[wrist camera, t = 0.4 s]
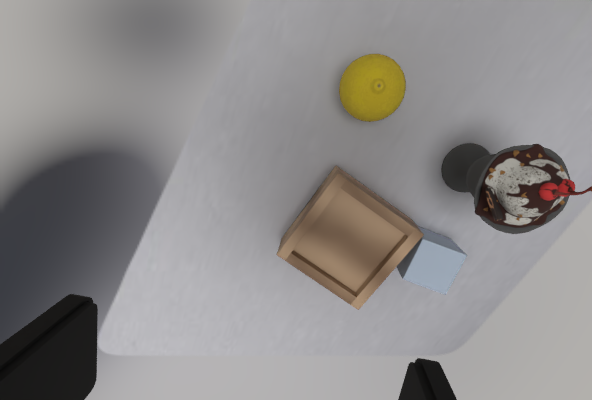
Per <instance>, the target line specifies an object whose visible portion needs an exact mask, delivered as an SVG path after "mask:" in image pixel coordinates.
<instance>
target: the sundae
mask: <svg viewBox="0 0 592 400" xmlns="http://www.w3.org/2000/svg"><path fill="white" fill-rule="evenodd" d="M442 176H443V179H444V181H445V183H446V184H447V185H448V186H449V187H450V188H452V189H453V190H456V191H459V192H470V193H471V194H472V196H473V197H474V204H475V213H476V214H477V215H479V216H480V217H481V218H482V220H483V221H485V222H486V223H487V224H488V225H490V226H492V227H493V228H495V229H496V230H499V231H502V232H506V233H511V234H518V233H525V232H529V231H531V230H534V229H536V228H538V227H540V226H542V225H544V224H546V223H548V222H549V221H551V220H552V219H553V218H555V217H556V216H557V215H558V214H559V213H560V212H561V211H562V210H563V208H564V207H565V205H566V203H567V201H568V198H569V196H570V195H579V194H584V193H586V192H588V191H592V186H591V187H590V188H588V189H587V190H585V191H583V192H575V191H574V190H575V184H574V182H573V181H571V180H570V177H569V174H568V171H567V168H566V166H565V164H564V162H563V160H562V159H561V158H560V157H559V156H558V155H557V154H556V153H555V152H553V151H552V150H550V149H547V148H544V147H542V146H541V145H539V144H533V145H521V146H513V147H510V148H507V149H504V150H502V151H500V152H498V153H497V154H492V155H490V154H489V152H488V151H487V150H486V149H485V148H483V147H482V146H480V145H477V144H472V143H471V144H463V145H460V146H458V147H456V148H454V149H453V150H451V151H450V152H449V153H448V155H447V156H446V157H445V159H444V162H443V165H442Z"/></svg>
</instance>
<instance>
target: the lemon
mask: <svg viewBox="0 0 592 400" xmlns="http://www.w3.org/2000/svg"><path fill="white" fill-rule="evenodd" d="M405 88H406V81H405V77H404V73H403V71H402V70H401V68H400V66H399V65H398V64H397V63H396V62H395V61H394V60H393V59H391V58H389V57H387V56H384V55H380V54H369V55H365V56H362V57H360V58H358V59H356V60H355V61H353V62H352V63H351V64H350V65H349V66H348V67H347V69H346V70H345V72H344V73H343V75H342V78H341V81H340V88H339V93H340V99H341V102H342V104H343V106H344V108H345V109H346V110H347V112H348V113H349V114H351V115H352V116H353V117H355V118H357V119H359V120H362V121H369V122H371V121H378V120H381V119H384V118H386V117H388V116H389V115H390V114H392V113H393V112H394V111H395V110H396V109H397V108H398V107H399V105H400V103H401V102H402V100H403V98H404V94H405Z"/></svg>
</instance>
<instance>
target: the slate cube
mask: <svg viewBox="0 0 592 400" xmlns="http://www.w3.org/2000/svg"><path fill="white" fill-rule="evenodd" d="M417 227H418V226H417ZM418 228H419V229H420V230H421V231H422V233H423V234H424V235H423V237H422V238H421V239H420V240H419V241H418V242H417V243H416V245H415V246H414V247H413V248H412V249H411V250H410V251H409V253H408V254H407V255H406V256H405V257H404V258H403V259H402V261H401V262H400V263H399V264H398V265H397V268H398V270H399V272H400V274H401V276H402V278H403V279H404V280H406V281H409V282H412V283H415V284H417V285H420V286H423V287H426V288H428V289H431V290H434V291H436V292H439V293H442V294H445V295H446V293H447V291H448V290H449V288H450V286H451V284H452V282H453V280H454V279H455V277H456V275H457V273H458V271H459V269H460V268H461V266H462V264H463V262H464V260H465V258H466V257H467V255H466V254H465V253H464V252H463V251H462V250H461V249H460V248H459V247H458V246H457V245H456V244H455V243H454V242H453V241H452V240H451V239H450V238H448V237H445V236H442V235H440V234H437V233H434V232H432V231H429V230H426V229H424V228H421V227H418Z"/></svg>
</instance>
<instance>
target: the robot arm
mask: <svg viewBox="0 0 592 400" xmlns="http://www.w3.org/2000/svg"><path fill="white" fill-rule="evenodd" d="M96 373H97V305H96V304H94V303H93V300H92V298H90V297H85V296H80V295H74V294H70V295H68V296H66V297H65V298H63V299H62V300H61V301H59V302H58V303H56V304H55V305H54V306H52V307H51V308H50V309H48V310H47V311H46V312H44V313H43V314H41V315H40V316H39V317H37V318H36V319H35V320H33V321H32V322H31V323H29V324H28V325H27V326H25V327H24V328H22V329H21V330H20V331H18V332H17V333H15V334H14V335H13V336H11V337H10V338H9V339H7V340H6V341H4V342H3V343H2V344H0V400H84V399H85V398H86V397H87V396H88V394H89V393H90V392H91V390H92V389H93V387H94V385H95V382H96ZM398 400H457V399H456V397H455V395H454V393H453V391H452V388H451V386H450V384H449V382H448V380H447V378H446V376H445V374H444V372H443V369H442V368H441V365H440V364H439V362H436V361H431V360H426V359H420V358H418V359H417V360H416V361H415V363H413V362H411V363H410V364H409V366H408V369H407V372H406V376H405V379H404V383H403V386H402V389H401V393H400V396H399V399H398Z"/></svg>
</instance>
